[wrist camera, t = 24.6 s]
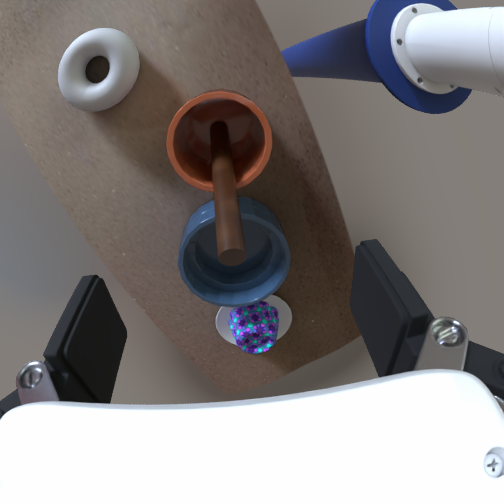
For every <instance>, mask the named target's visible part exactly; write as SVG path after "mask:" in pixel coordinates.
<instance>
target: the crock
mask: <svg viewBox="0 0 504 504" xmlns="http://www.w3.org/2000/svg"><path fill="white" fill-rule="evenodd" d="M217 121H221V122H224V123H225V124H226V125H227V126H228V132H229V139H230V146H231V153H232V159H233V166H234V173H235V179H236V186H237V189H239V188H241V187H244V186H246V185H248V184H249V183H251V182H252V181H253V180H254V179H255V178H256V177H257V176H259V175H260V173H261V172H262V171H263V169H264V168H265V166H266V164H267V163H268V161H269V158H270V154H271V150H272V145H273V143H272V132H271V127H270V125H269V123H268V121H267V119H266V116H265V115H264V113H263V112H262V111H261V110H260V109H259V108H258V107H257V106H256V105H255V104H254V103H253V102H252V101H251V100H250V99H248V98H247V97H246V96H244V95H242V94H240V93H238V92H236V91H234V90H229V89H214V90H209V91H206V92H204V93H202V94H200V95H198V96H196V97H194V98H193V99H191V100H190V101H188V102H187V103H186V104H185V105H184V106H183V107H182V108H181V109H180V110H179V111H178V112H177V113H176V114H175V116H174V118H173V120H172V122H171V124H170V126H169V129H168V135H167V142H166V146H167V151H168V156H169V160H170V162H171V164H172V166H173V167H174V169H175V171H176V173H177V174H178V175H179V176H180V177H181V178H182V179H184V180H185V181H186V182H187V183H188V184H190V185H192V186H194V187H196V188H198V189H201V190H203V191H209V192H213V179H212V162H211V143H210V127H211V125H212V124H213V123H214V122H217Z"/></svg>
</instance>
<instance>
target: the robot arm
mask: <svg viewBox="0 0 504 504" xmlns="http://www.w3.org/2000/svg"><path fill="white" fill-rule="evenodd" d="M397 42H398V43H397ZM391 46H392V51H393V55H394V57H395V60H396V62H397V64H398V66H399V68H400V70H401V71H402V72H403V74H404V75H405V77H406V78H407V79H408V80H409V81H410V82H411V83H412V84H414V85H415V86H417V87H418V88H420V89H422V90H424V91H426V92H430V93H435V94H445V93H449V92H451V91H453V90H455V89H456V88H457V87H458V86H459V87H464V88H468V89H473V90H477V91H482V92H486V93H490V94H494V95H498V96H502V97H504V7H485V8H471V9H460V10H451V11H443V10H441V9H440V8H438V7H436V6H433V5H430V4H424V3H421V4H413V5H409V6H407V7H405V8H404V9H402V10H401V11H400V12H399V13H398V14H397V16H396V17H395V19H394V22H393V24H392V28H391ZM417 80H418V81H417ZM350 307H351V311H352V314H353V316H354V318H355V320H356V323H357V325H358V327H359V330H360V332H361V334H362V337H363V339H364V341H365V344H366V346H367V349H368V351H369V354H370V356H371V358H372V361H373V363H374V366H375V368H376V371H377V373H378V376H379V378H376V379H371V380H367V381H362V382H357V383H352V384H347V385H342V386H337V387H331V388H326V389H321V390H315V391H309V392H303V393H296V394H290V395H282V396H275V397H266V398H258V399H249V400H239V401H227V402H213V403H196V404H165V405H130V404H129V405H128V404H110V401H111V397H112V393H113V389H114V385H115V381H116V377H117V372H118V369H119V365H120V361H121V357H122V353H123V350H124V346H125V343H126V339H127V330H126V327H125V325H124V323H123V321H122V319H121V317H120V315H119V313H118V311H117V309H116V307H115V304H114V302H113V300H112V298H111V296H110V293H109V291H108V289H107V287H106V285H105V282H104V280H103V279H102V278H99V276H98V275H89V276H83V277H82V278H81V280H80V282H79V284H78V285H77V287H76V289H75V291H74V293H73V295H72V297H71V299H70V300H69V302H68V304H67V306H66V308H65V310H64V312H63V314H62V316H61V318H60V320H59V322H58V324H57V326H56V328H55V330H54V332H53V334H52V336H51V338H50V341H49V343H48V345H47V347H46V350H45V352H44V354H43V356H44V357H45V361H44V363H43V362H42V361H37V360H36V361H31V362H29V363H27V364H26V365H25V366H23V367H22V369H21V370H20V371H19V373H18V375H17V378H16V387H17V389H16V390H15V391H13V392H12V393H11V394H9V395H8V396H6V397H5V398H4V399H2V400H1V401H0V504H504V354H502V353H500V352H497V351H495V350H492V349H489V348H487V347H484V346H482V345H479V344H476V343H474V342H471V341H469V334H468V331H467V329H466V327H465V326H464V325H463V324H462V323H461V322H459V321H458V320H456V319H454V318H451V317H439V318H436V319H435V318H434V316H433V315H432V313H431V312H430V310H429V309H428V307H427V306H426V304H425V303H424V301H423V300H422V298H421V297H420V295H419V294H418V292H417V291H416V290H415V288H414V287H413V285H412V284H411V282H410V281H409V279H408V278H407V277H406V275H405V274H404V273H403V272H401V271H400V270H399V269H398V267H397V266H396V264H395V263H394V262H393V260H392V259H391V257H390V256H389V255H388V253H387V252H386V251H385V249H384V248H383V247H382V245H381V244H380V243H379V241H378V240H377V239H373V240H366V241H361V243H360V245H359V246H356V250H355V262H354V272H353V282H352V291H351V299H350Z"/></svg>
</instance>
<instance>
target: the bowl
mask: <svg viewBox="0 0 504 504" xmlns="http://www.w3.org/2000/svg"><path fill="white" fill-rule="evenodd" d="M238 199H239V206H240V213H241V219H242V226H243V233H244V239H245V246H246V252H247V258H246V260H245V261H244V262H243V263H241V264H239V265H235V266H227V265H223V264H222V263H220V261H219V260H218V250H217V238H216V224H215V210H214V200H212V201H210V202H208V203H206V204H204V205H202V206H201V207H200V208H199V209H198V210H197V211H196V212H195V213H194V214H193V215H191V217H190V218H189V220H188V222H187V224H186V226H185V228H184V231H183V235H182V240H181V244H180V249H179V258H178V267H179V270H180V274H181V278H182V280H183V281H184V283H185V284H186V285H187V287H188V288H189V289H190V291H191V292H192V293H194V294H195V295H196V296H198V297H199V298H201V299H202V300H204V301H206V302H209V303H212V304H214V305H217V306H223V307H232V308H234V307H242V306H249V305H252V304H255V303H257V302H260V301H262V300H264V299H266V298H268V297H269V296H270V295H272V294H273V293H274V292H276V291H277V290H278V289H279V287H280V286H281V285H282V283H283V282H284V281H285V279H286V278H287V274H288V271H289V268H290V265H291V258H290V248H289V245H288V242H287V240H286V237H285V234H284V231H283V229H282V227H281V224H280V222H279V220H278V218H277V216H276V215H275V214H274V213H273V212H272V211H271V210H270V209H269V208H268V207H267V206H266V205H264V204H262V203H260V202H258V201H256V200H254V199H251V198H246V197H240V196H238Z"/></svg>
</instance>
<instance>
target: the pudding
mask: <svg viewBox="0 0 504 504" xmlns="http://www.w3.org/2000/svg"><path fill="white" fill-rule="evenodd" d="M291 322H292V313H291V310H290V308H289V306H288V305H287V304H286V302H284V301H283V300H282V299H281V298H279V297H277V296H274V295H270V296H269V297H268V298H266V299H264V300H262V301H260V302H257V303H255V304H252V305H249V306H242V307H234V308H232V307H223V306H222V307H221V309H220V310H219V312H218V314H217V317H216V327H217V330H218V332H219V333H220V335H221V336H222V337H223V338H224V339H225V340H227V341H229V342H230V343H233V344H235V345H238V347H240V348H241V350H242V351H244V352H246V353H252V354H260V353H261V352H267V351H269V350H270V349H271V347H272V346H274V345H275V343H276V341H277V340H278V339H279V338H281V337H282V336H283V335H284V334H285V333H286V332H287V330H288V329H289V327H290V325H291Z"/></svg>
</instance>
